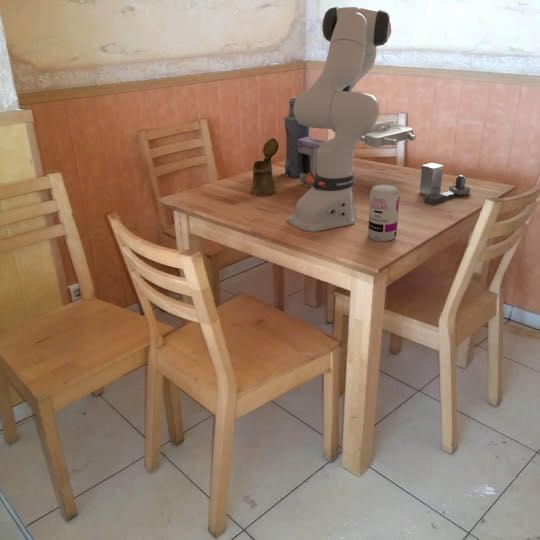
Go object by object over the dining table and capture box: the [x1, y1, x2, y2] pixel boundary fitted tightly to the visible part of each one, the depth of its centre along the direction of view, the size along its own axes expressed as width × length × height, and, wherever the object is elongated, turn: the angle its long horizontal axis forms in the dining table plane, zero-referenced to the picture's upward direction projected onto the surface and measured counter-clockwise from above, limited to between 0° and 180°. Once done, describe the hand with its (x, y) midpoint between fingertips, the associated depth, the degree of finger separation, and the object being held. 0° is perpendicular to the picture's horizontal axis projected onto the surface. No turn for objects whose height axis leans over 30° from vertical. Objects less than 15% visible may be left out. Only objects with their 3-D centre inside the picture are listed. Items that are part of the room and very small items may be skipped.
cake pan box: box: [298, 136, 326, 188], centre depth 203 cm, size 19×5×18 cm, turn 33°
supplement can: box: [367, 183, 400, 242], centre depth 161 cm, size 8×8×15 cm
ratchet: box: [424, 174, 471, 206], centre depth 192 cm, size 19×7×6 cm, turn 124°
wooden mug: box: [251, 137, 279, 196], centre depth 203 cm, size 9×14×18 cm, turn 150°
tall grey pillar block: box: [419, 162, 444, 196], centre depth 196 cm, size 5×5×10 cm
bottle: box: [284, 96, 311, 178], centre depth 217 cm, size 10×10×30 cm
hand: (404, 140), depth 201 cm, fingers open, 8 cm apart
